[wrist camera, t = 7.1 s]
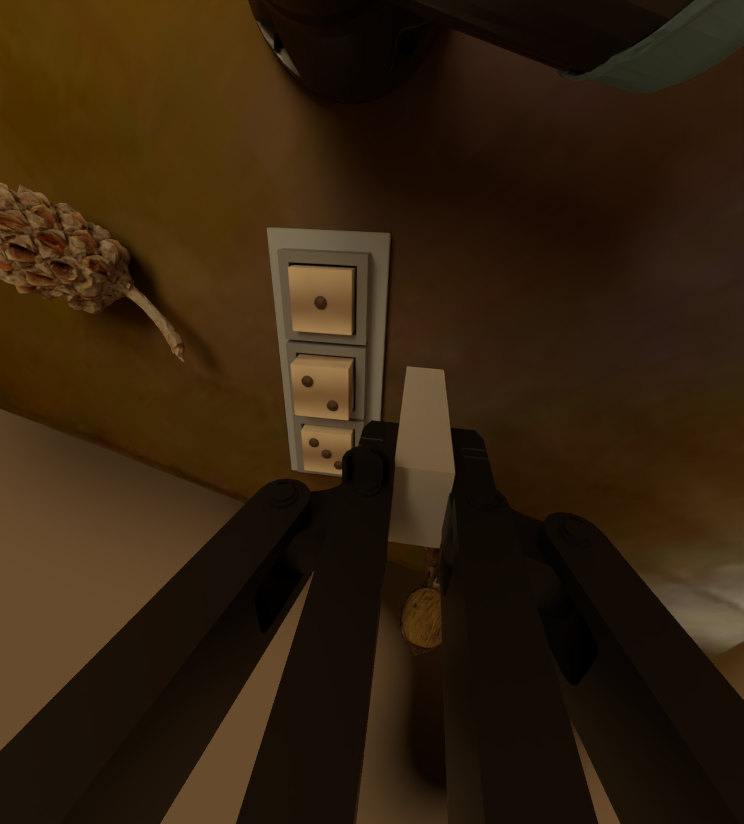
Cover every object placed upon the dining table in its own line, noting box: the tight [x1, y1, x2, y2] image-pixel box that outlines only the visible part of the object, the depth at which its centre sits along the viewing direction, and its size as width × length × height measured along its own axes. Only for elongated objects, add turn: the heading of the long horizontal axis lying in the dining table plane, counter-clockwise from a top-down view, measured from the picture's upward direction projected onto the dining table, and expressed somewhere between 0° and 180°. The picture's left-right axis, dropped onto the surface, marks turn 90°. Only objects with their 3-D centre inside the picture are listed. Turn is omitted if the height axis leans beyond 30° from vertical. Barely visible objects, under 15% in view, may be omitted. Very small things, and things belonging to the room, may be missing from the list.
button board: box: [267, 227, 391, 477], centre depth 40 cm, size 30×12×3 cm, turn 178°
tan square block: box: [288, 263, 357, 335], centre depth 35 cm, size 6×6×3 cm
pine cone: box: [0, 183, 185, 362], centre depth 35 cm, size 22×10×10 cm, turn 53°
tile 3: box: [301, 424, 355, 475], centre depth 44 cm, size 6×6×3 cm
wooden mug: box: [399, 539, 442, 656], centre depth 41 cm, size 9×14×18 cm, turn 154°
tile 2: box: [290, 354, 354, 420], centre depth 38 cm, size 6×6×3 cm
